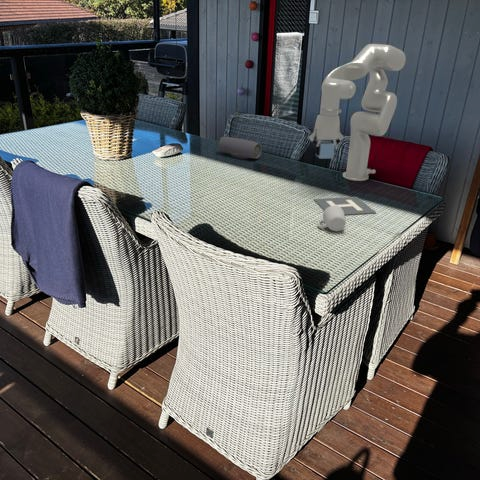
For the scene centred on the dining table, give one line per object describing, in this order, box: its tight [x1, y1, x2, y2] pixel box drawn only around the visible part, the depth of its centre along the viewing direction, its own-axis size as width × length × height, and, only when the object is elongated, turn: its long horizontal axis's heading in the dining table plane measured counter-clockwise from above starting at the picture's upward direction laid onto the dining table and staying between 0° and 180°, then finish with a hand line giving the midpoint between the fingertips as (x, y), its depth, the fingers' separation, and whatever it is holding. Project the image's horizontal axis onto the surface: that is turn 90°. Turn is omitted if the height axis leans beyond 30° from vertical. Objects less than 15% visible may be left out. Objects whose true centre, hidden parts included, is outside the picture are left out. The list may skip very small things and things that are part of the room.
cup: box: [317, 206, 347, 232], centre depth 180 cm, size 11×8×8 cm
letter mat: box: [313, 196, 377, 217], centre depth 202 cm, size 20×18×1 cm
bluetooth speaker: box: [217, 136, 263, 160], centre depth 262 cm, size 23×9×10 cm, turn 58°
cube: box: [314, 140, 336, 160], centre depth 208 cm, size 6×6×6 cm
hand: (324, 154), depth 208 cm, fingers closed on cube, 6 cm apart
